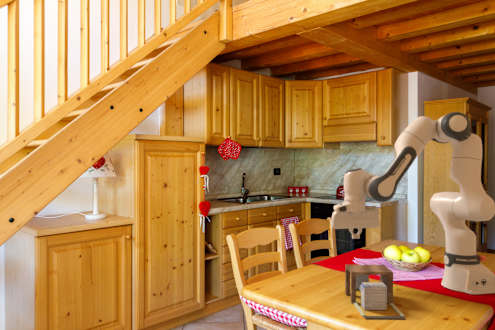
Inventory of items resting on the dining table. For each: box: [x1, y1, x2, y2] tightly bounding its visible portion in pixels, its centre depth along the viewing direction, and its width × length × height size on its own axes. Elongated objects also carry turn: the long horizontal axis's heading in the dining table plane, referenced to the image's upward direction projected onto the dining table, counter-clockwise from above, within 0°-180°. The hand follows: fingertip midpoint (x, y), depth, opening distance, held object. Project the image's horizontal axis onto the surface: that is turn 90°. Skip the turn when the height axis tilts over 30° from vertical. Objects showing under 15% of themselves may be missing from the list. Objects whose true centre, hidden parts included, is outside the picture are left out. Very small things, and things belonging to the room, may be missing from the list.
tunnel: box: [344, 264, 394, 305], centre depth 144 cm, size 15×10×12 cm, turn 89°
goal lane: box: [353, 302, 406, 318], centre depth 132 cm, size 14×11×1 cm
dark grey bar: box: [363, 315, 406, 320], centre depth 126 cm, size 13×2×1 cm, turn 89°
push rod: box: [356, 275, 370, 292], centre depth 146 cm, size 8×18×7 cm, turn 179°
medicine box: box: [360, 281, 388, 311], centre depth 134 cm, size 8×4×9 cm, turn 88°
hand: (355, 238), depth 163 cm, fingers closed
